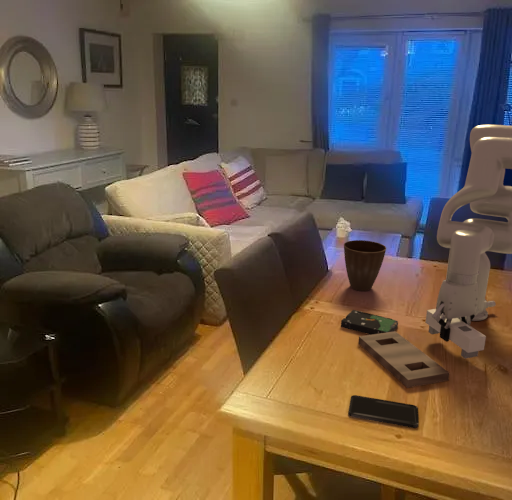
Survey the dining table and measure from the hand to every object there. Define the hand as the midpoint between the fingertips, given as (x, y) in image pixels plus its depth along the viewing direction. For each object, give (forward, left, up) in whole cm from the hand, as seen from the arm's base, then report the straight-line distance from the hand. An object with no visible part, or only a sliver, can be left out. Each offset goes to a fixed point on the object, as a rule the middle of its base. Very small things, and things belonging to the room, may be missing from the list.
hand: (452, 337), depth 142 cm
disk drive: (+14, -20, -5) cm, 25 cm away
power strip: (0, 0, -2) cm, 2 cm away
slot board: (+17, +1, -4) cm, 17 cm away
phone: (+34, +20, -5) cm, 39 cm away
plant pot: (0, -50, -5) cm, 51 cm away
